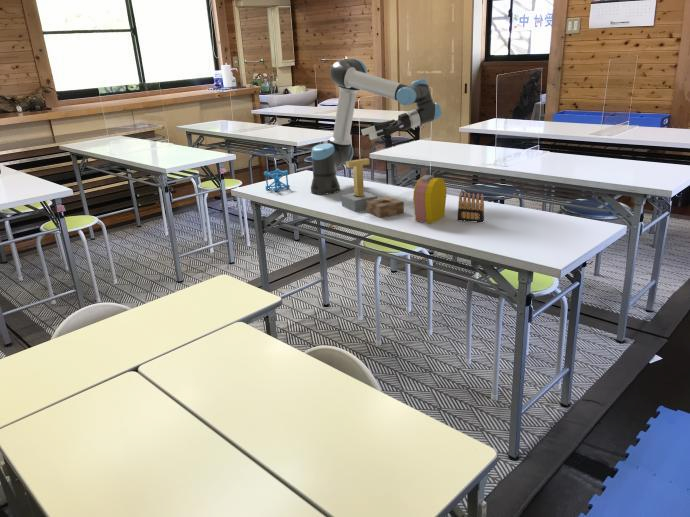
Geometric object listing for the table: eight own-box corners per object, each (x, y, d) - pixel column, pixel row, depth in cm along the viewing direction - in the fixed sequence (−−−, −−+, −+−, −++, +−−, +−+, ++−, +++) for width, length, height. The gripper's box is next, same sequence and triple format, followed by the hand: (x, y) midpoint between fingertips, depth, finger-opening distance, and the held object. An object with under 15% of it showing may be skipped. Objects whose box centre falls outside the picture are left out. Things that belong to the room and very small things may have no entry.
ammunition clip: (457, 220, 224) (457, 192, 220) (458, 219, 226) (459, 191, 221) (482, 222, 219) (484, 194, 215) (484, 221, 221) (485, 192, 216)
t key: (347, 207, 250) (345, 161, 243) (367, 203, 255) (366, 158, 247) (351, 209, 248) (348, 162, 240) (371, 204, 253) (369, 159, 245)
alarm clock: (428, 212, 236) (429, 171, 230) (446, 215, 232) (446, 172, 225) (412, 222, 225) (411, 178, 218) (430, 224, 221) (430, 180, 214)
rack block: (341, 205, 254) (341, 195, 252) (363, 201, 259) (363, 191, 257) (355, 211, 244) (354, 200, 242) (377, 206, 249) (377, 196, 247)
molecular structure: (279, 186, 297) (278, 168, 294) (290, 188, 290) (289, 170, 287) (264, 189, 291) (262, 171, 287) (275, 192, 284) (273, 173, 280)
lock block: (366, 211, 242) (365, 201, 240) (388, 207, 248) (388, 196, 246) (381, 218, 232) (380, 206, 231) (403, 212, 238) (403, 201, 236)
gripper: (419, 131, 240) (375, 147, 238) (401, 124, 263) (361, 138, 261) (416, 115, 237) (370, 130, 235) (398, 109, 260) (357, 123, 258)
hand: (365, 134), depth 248 cm, fingers open, 13 cm apart
